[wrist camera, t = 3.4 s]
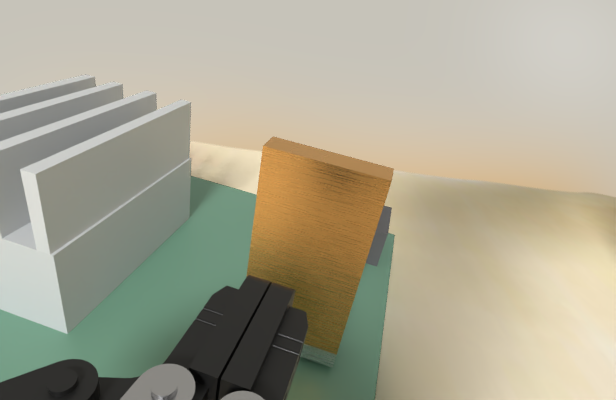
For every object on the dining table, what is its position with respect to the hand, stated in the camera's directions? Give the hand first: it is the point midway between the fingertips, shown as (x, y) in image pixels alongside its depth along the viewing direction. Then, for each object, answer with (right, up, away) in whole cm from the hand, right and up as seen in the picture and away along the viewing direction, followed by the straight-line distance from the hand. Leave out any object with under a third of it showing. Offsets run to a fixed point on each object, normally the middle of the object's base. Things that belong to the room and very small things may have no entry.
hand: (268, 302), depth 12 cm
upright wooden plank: (+1, -3, +11) cm, 12 cm away
